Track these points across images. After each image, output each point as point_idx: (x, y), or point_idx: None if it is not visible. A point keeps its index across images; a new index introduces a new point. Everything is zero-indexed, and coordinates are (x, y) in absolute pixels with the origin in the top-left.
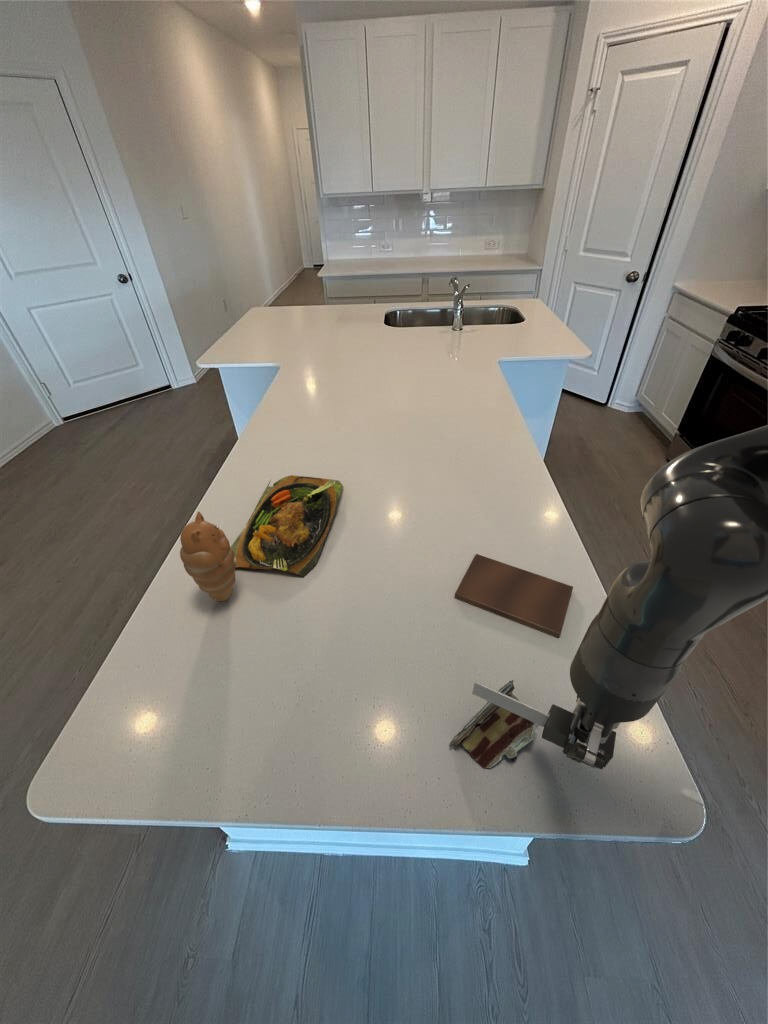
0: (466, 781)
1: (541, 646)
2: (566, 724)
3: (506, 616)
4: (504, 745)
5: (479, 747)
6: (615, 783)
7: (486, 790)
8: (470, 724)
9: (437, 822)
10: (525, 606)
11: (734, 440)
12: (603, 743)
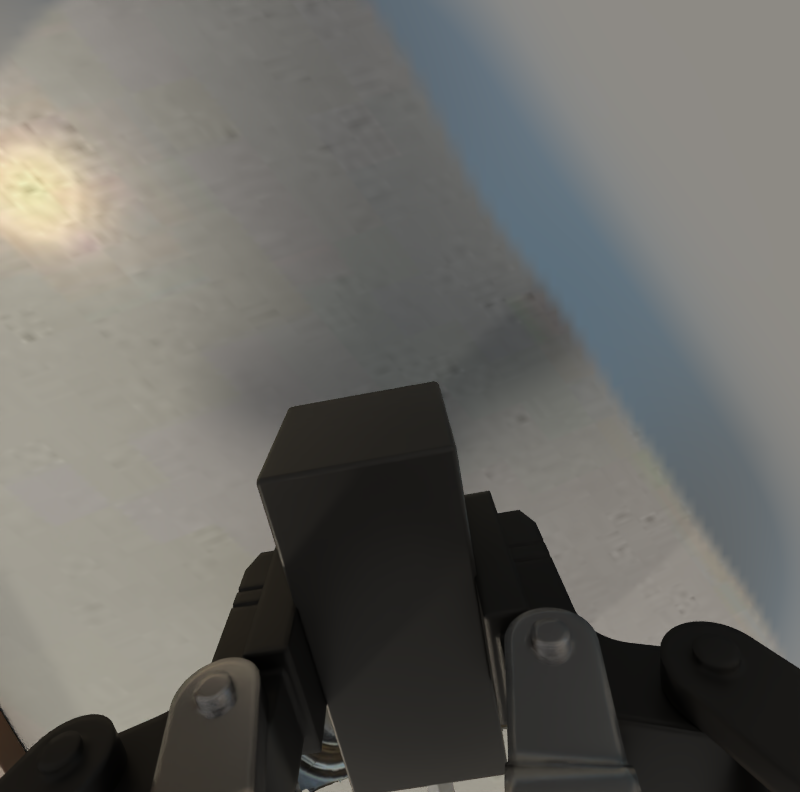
0: (602, 591)
1: (13, 611)
2: (426, 712)
3: (10, 744)
4: None
5: None
6: (308, 218)
7: (594, 541)
8: (504, 728)
9: (741, 598)
10: None
11: None
12: (630, 767)
